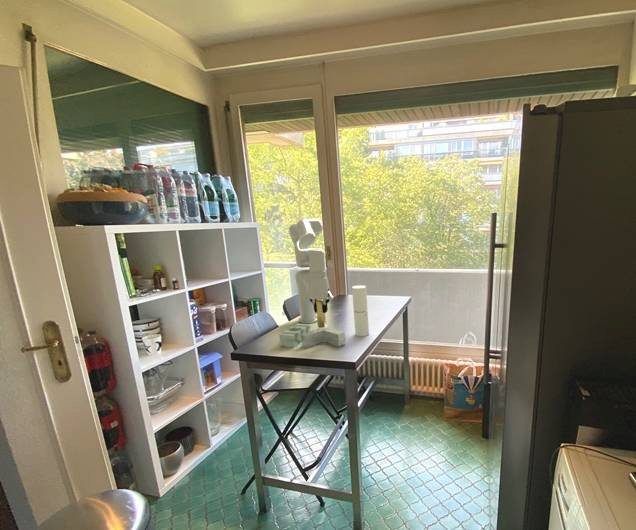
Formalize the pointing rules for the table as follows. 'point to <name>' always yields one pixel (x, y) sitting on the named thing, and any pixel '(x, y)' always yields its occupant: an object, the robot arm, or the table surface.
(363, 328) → the cylindrical container
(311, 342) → the v block
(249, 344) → the table surface
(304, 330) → the pale green slotted holder
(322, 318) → the axle
